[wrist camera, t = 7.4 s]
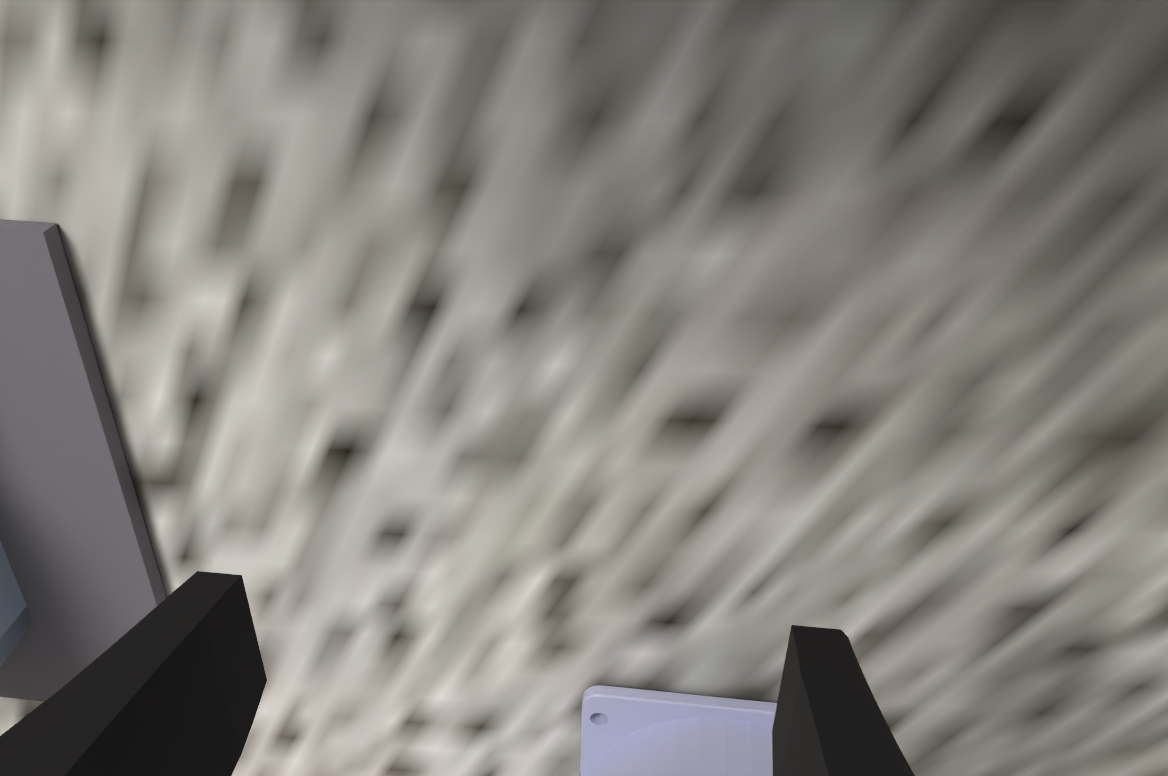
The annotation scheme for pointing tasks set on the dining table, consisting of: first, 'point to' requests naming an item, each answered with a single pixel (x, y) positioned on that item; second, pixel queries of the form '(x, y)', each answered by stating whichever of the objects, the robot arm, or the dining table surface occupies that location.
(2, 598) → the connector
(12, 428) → the mat
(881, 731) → the robot arm
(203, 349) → the dining table surface
